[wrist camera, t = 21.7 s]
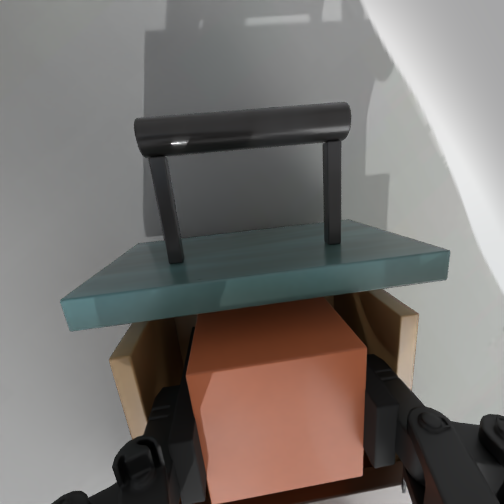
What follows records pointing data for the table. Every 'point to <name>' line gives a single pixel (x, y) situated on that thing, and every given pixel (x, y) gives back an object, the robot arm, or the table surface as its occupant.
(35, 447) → the table surface
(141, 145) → the drawer
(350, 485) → the cabinet
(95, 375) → the table surface
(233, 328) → the block
